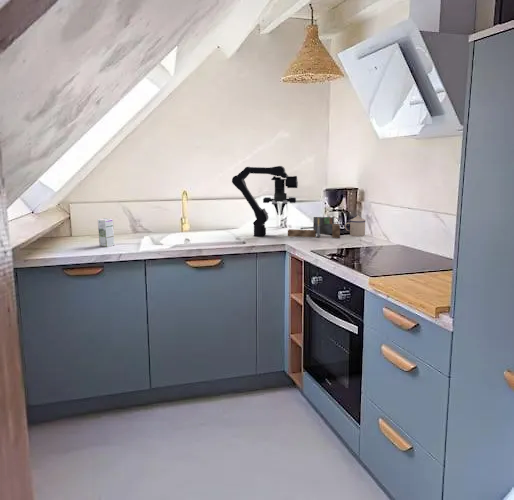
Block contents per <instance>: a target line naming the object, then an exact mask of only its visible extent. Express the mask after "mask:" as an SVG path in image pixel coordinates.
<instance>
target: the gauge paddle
mask: <svg viewBox="0 0 514 500" xmlns="http://www.w3.org/2000/svg"><path fill="white" fill-rule="evenodd" d="M320 235H321V234H320V225H319V218H318V226H317V234H316V237H318V238H319V237H320Z"/></svg>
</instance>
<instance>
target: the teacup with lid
mask: <svg viewBox="0 0 514 500" xmlns="http://www.w3.org/2000/svg"><path fill="white" fill-rule="evenodd" d="M349 221H350V222H346V223H345V224H344V228H345V231H347V232H349V235H350V236H352V237H364V236H366V219H364V218H362V217H360V215H356V216H355V217H353V218H351V219H349ZM347 225H350V226H349V229H348V228H347Z"/></svg>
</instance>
